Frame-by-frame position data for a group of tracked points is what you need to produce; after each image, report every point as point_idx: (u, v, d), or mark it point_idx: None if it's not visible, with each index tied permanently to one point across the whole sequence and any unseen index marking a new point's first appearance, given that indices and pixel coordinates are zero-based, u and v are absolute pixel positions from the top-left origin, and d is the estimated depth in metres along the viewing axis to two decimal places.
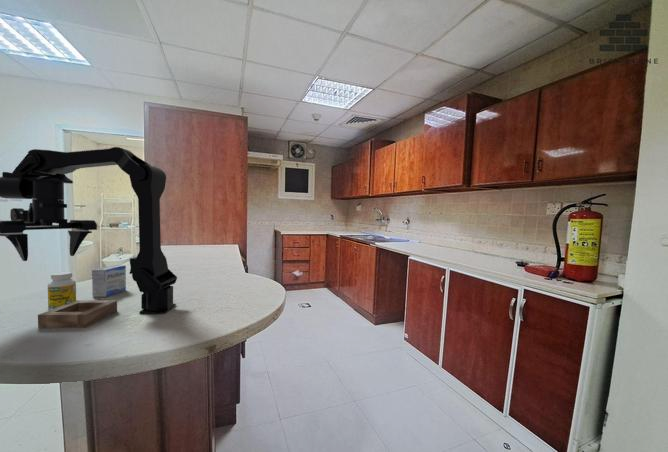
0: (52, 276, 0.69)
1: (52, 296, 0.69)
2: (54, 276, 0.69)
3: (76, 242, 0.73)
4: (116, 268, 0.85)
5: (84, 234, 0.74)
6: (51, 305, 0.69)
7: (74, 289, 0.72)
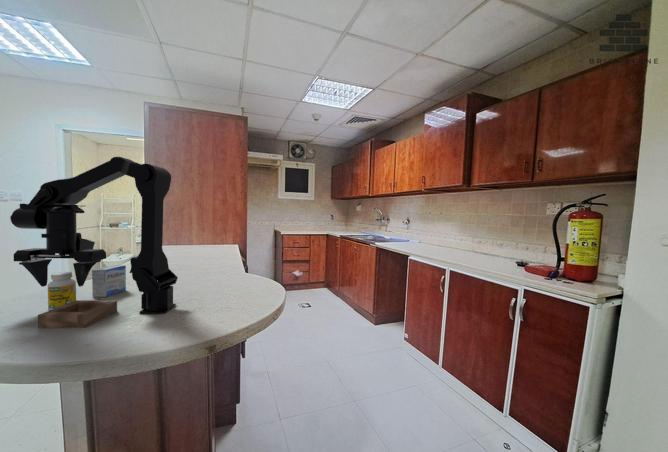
0: (52, 276, 0.69)
1: (52, 296, 0.69)
2: (54, 276, 0.69)
3: None
4: (116, 268, 0.85)
5: (78, 266, 0.69)
6: (51, 305, 0.69)
7: (74, 289, 0.72)
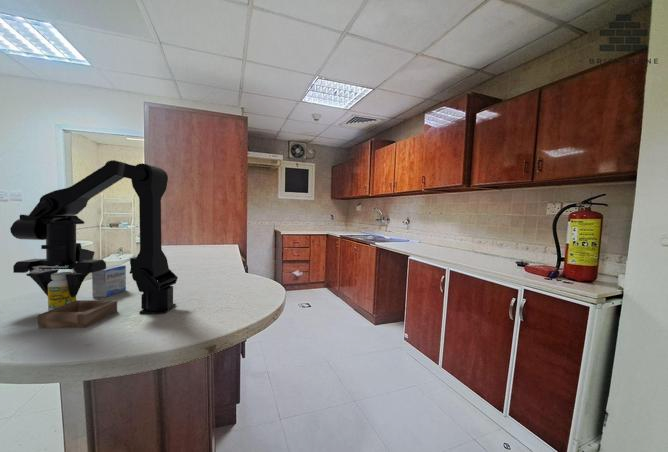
0: (52, 276, 0.69)
1: (52, 296, 0.69)
2: (54, 276, 0.69)
3: None
4: (116, 268, 0.85)
5: (70, 277, 0.69)
6: (51, 305, 0.69)
7: None
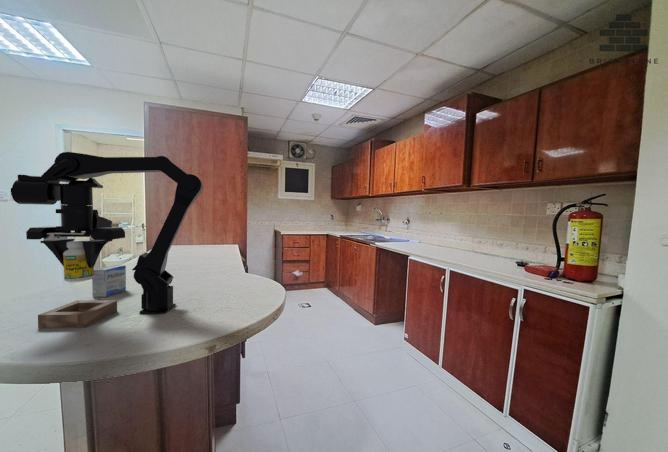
0: (68, 244, 0.63)
1: (68, 266, 0.63)
2: (70, 243, 0.63)
3: None
4: (116, 268, 0.85)
5: (88, 244, 0.63)
6: (67, 275, 0.63)
7: None
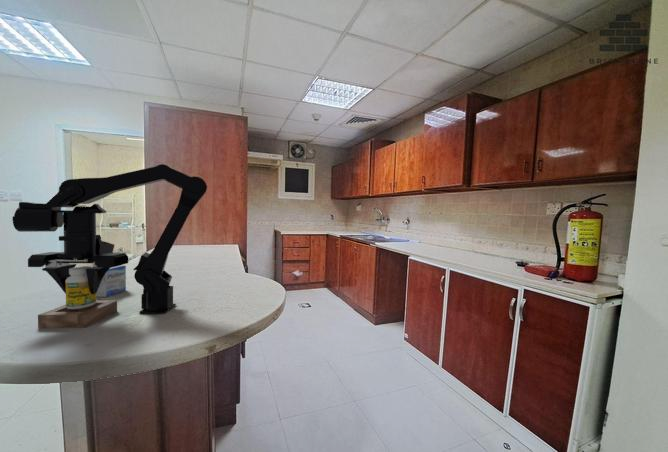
0: (70, 271, 0.62)
1: (71, 293, 0.62)
2: (73, 271, 0.62)
3: None
4: (116, 268, 0.85)
5: (91, 272, 0.62)
6: (69, 302, 0.62)
7: None
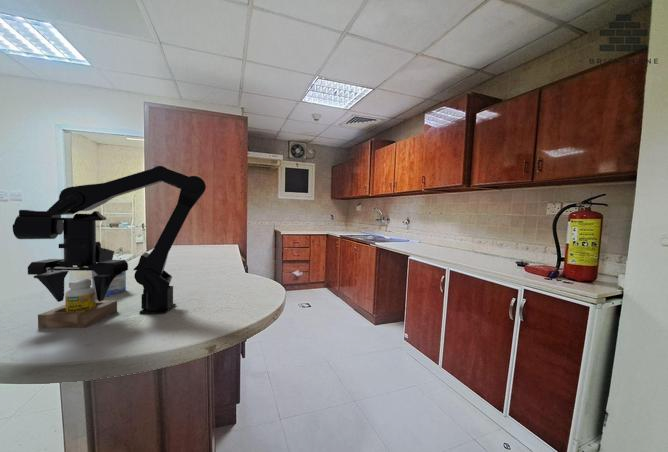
0: (70, 284, 0.62)
1: (71, 307, 0.62)
2: (72, 284, 0.62)
3: None
4: None
5: (99, 279, 0.62)
6: None
7: (94, 298, 0.66)
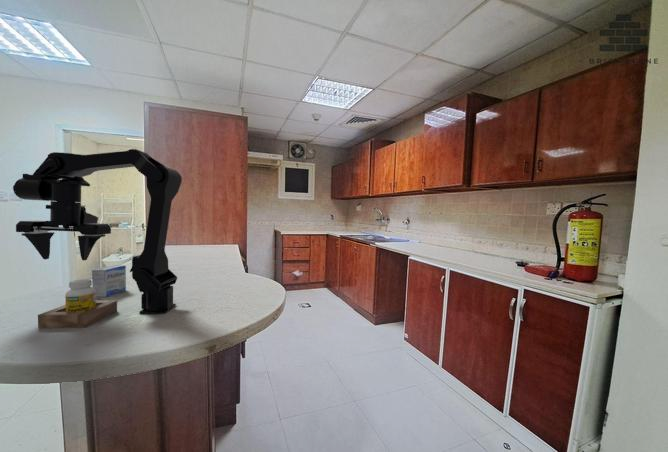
0: (70, 284, 0.62)
1: (71, 307, 0.62)
2: (73, 284, 0.62)
3: None
4: (116, 268, 0.85)
5: (83, 239, 0.68)
6: None
7: (94, 298, 0.66)
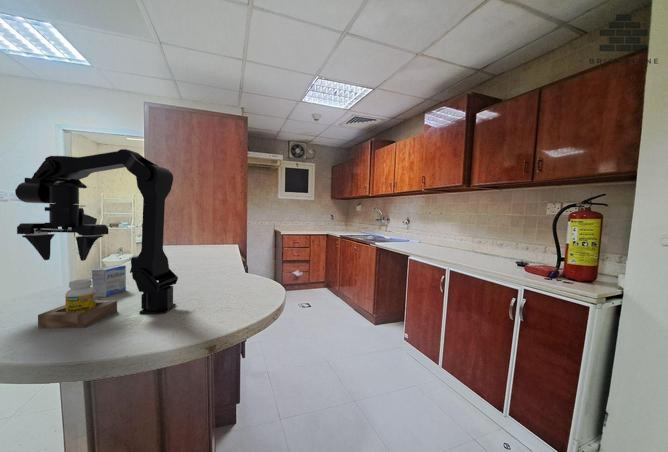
0: (70, 284, 0.62)
1: (71, 307, 0.62)
2: (73, 284, 0.62)
3: None
4: (116, 268, 0.85)
5: (80, 239, 0.70)
6: None
7: (94, 298, 0.66)
